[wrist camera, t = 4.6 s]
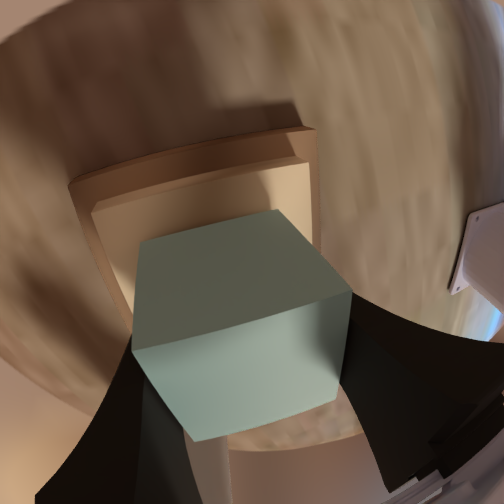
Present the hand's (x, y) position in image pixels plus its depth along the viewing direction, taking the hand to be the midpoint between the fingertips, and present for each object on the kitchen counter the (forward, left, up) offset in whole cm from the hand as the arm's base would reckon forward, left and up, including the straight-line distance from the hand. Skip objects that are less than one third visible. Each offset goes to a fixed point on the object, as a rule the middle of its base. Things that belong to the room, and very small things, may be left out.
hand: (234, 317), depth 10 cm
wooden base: (0, 0, -5) cm, 5 cm away
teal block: (0, 0, -2) cm, 2 cm away
